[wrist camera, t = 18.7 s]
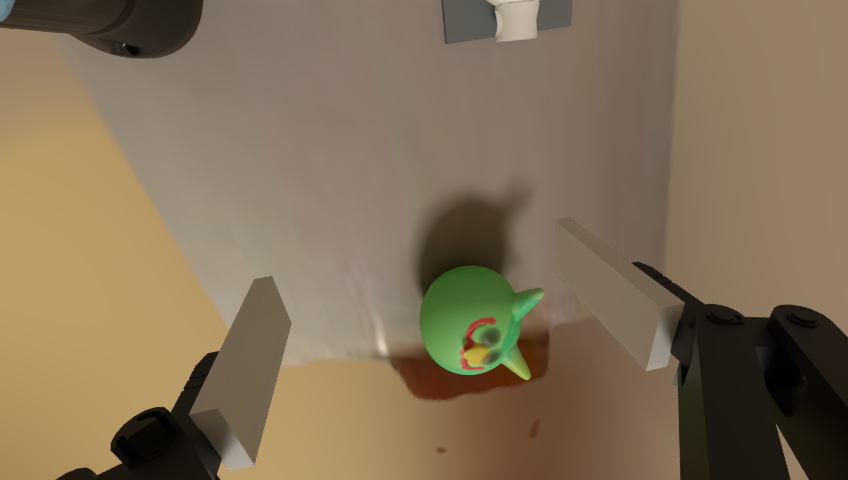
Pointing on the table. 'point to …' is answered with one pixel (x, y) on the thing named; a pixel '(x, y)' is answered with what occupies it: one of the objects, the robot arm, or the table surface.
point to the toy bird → (475, 321)
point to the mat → (477, 18)
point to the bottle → (515, 19)
